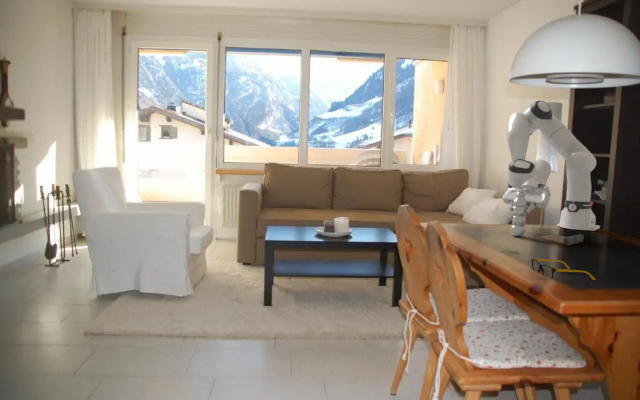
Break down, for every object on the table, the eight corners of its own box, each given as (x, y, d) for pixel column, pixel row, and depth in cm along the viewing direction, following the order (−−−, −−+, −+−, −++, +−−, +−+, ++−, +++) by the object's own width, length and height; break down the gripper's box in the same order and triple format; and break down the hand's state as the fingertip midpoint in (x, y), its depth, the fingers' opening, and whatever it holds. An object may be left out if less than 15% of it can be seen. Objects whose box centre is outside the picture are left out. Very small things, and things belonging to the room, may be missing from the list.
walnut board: (551, 236, 234) (551, 230, 234) (583, 241, 223) (583, 234, 223) (534, 240, 223) (535, 233, 223) (567, 245, 213) (567, 238, 213)
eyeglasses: (528, 269, 170) (529, 257, 169) (570, 270, 171) (571, 258, 170) (550, 281, 156) (551, 268, 155) (595, 281, 157) (597, 268, 156)
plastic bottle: (510, 236, 229) (513, 192, 227) (509, 234, 235) (512, 191, 233) (526, 238, 227) (529, 193, 225) (524, 235, 234) (528, 192, 231)
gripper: (507, 182, 241) (495, 204, 236) (550, 185, 226) (538, 209, 220) (511, 191, 245) (499, 212, 239) (554, 195, 229) (542, 218, 224)
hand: (518, 211), depth 230 cm, fingers closed on plastic bottle, 6 cm apart
